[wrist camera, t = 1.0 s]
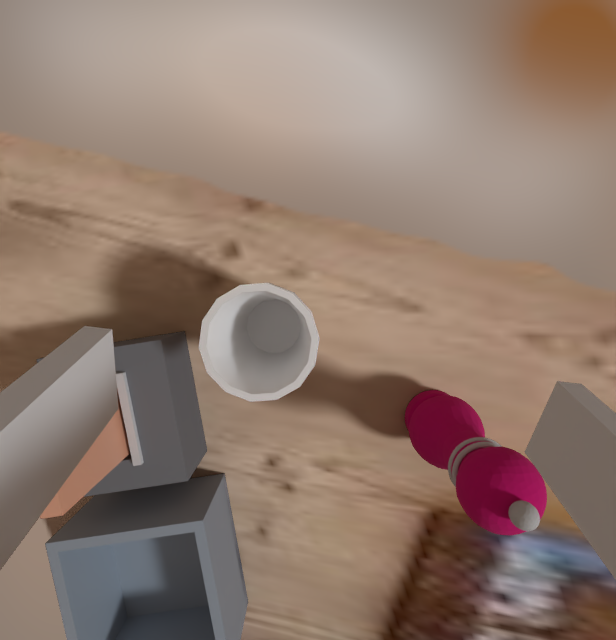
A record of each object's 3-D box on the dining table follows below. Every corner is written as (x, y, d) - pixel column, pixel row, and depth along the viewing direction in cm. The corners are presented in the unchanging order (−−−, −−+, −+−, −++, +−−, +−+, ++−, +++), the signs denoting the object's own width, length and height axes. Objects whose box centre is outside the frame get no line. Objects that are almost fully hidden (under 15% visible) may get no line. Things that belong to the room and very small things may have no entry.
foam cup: (329, 303, 43) (337, 310, 30) (298, 379, 44) (293, 418, 31) (249, 271, 43) (222, 265, 30) (220, 348, 44) (181, 375, 31)
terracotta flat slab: (149, 434, 42) (62, 515, 28) (135, 437, 42) (40, 518, 28) (137, 372, 42) (41, 420, 27) (122, 374, 42) (18, 424, 27)
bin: (248, 601, 46) (233, 676, 37) (124, 618, 47) (80, 698, 38) (224, 473, 45) (203, 520, 36) (97, 492, 45) (45, 543, 36)
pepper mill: (402, 450, 45) (477, 583, 25) (397, 388, 44) (469, 474, 24) (465, 443, 44) (592, 572, 24) (461, 382, 44) (587, 462, 24)
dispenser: (207, 450, 45) (186, 483, 37) (105, 466, 45) (64, 502, 37) (184, 331, 43) (158, 340, 36) (80, 347, 44) (32, 360, 36)
